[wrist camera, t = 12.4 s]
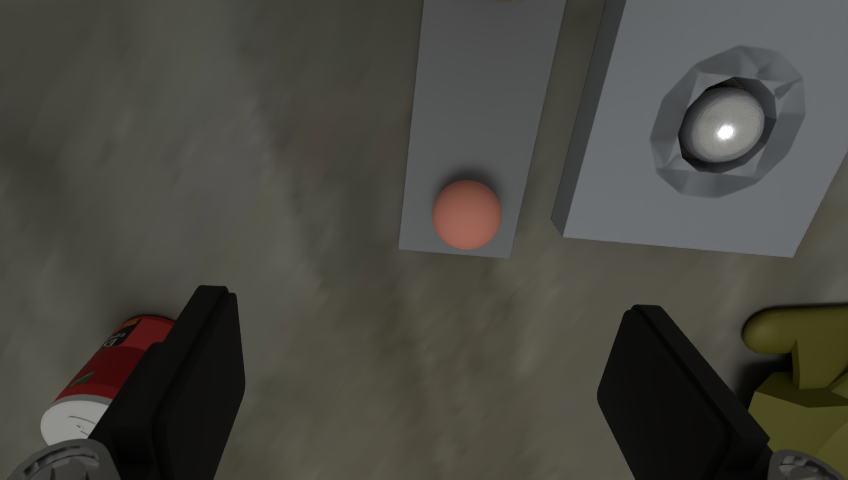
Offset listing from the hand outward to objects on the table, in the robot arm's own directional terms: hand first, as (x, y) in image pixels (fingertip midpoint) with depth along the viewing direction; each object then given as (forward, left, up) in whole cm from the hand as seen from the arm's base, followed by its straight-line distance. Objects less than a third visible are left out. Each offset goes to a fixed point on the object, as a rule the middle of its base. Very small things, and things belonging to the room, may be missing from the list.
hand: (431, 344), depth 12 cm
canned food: (+25, -22, -29) cm, 45 cm away
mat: (-2, +5, -29) cm, 29 cm away
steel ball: (-1, +23, -26) cm, 35 cm away
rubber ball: (+7, +5, -26) cm, 27 cm away
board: (-2, +23, -29) cm, 37 cm away
